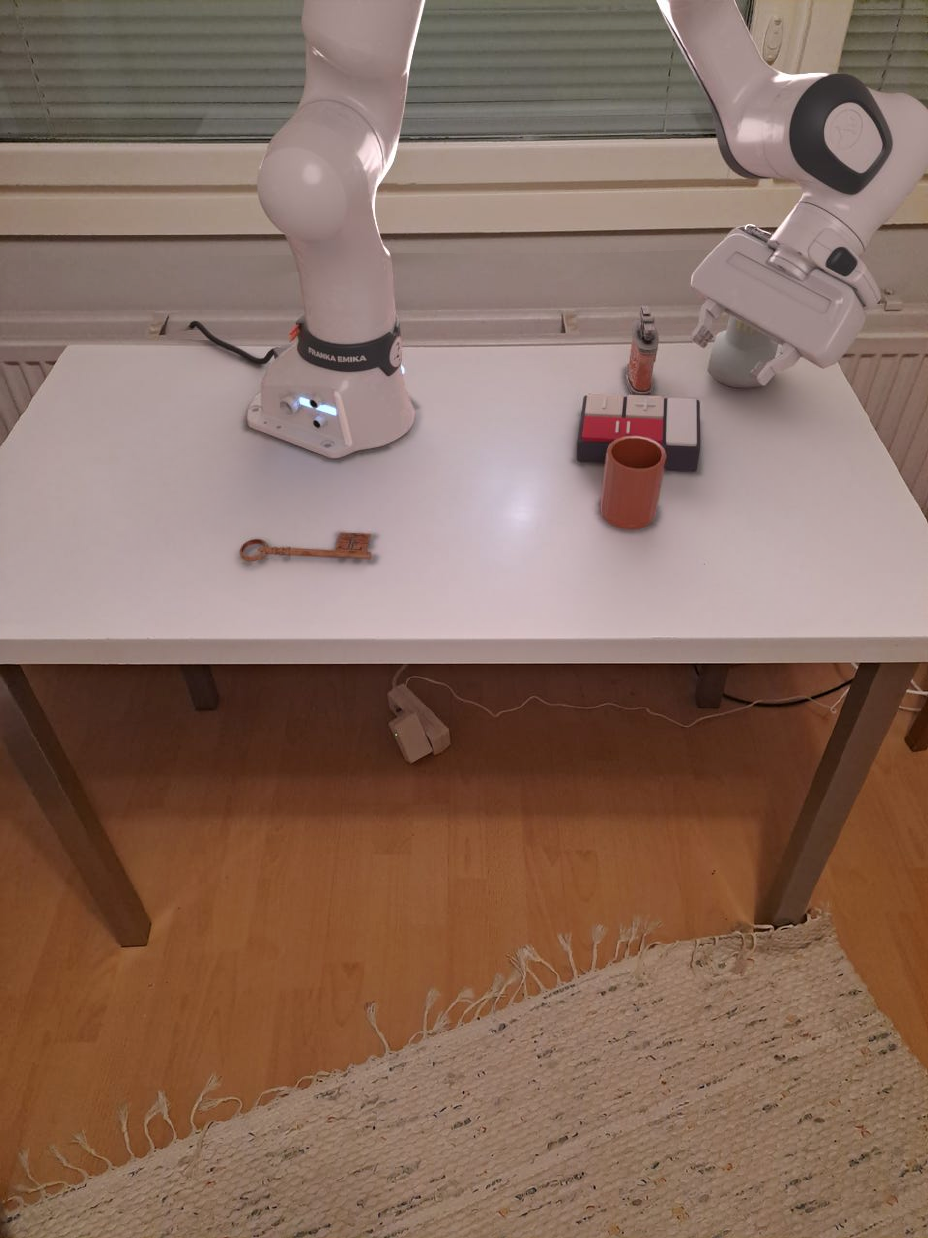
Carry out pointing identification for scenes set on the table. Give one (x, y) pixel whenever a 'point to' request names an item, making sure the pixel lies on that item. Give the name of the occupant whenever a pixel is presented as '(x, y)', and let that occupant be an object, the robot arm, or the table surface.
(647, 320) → the lighter
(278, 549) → the key
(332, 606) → the table surface
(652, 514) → the cup
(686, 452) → the calculator
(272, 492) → the table surface
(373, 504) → the table surface
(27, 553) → the table surface
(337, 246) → the robot arm
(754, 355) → the air freshener
